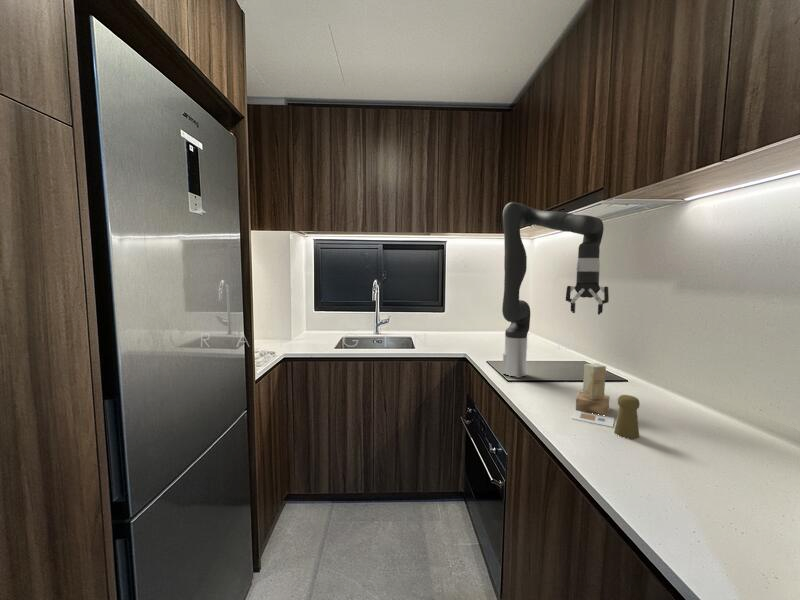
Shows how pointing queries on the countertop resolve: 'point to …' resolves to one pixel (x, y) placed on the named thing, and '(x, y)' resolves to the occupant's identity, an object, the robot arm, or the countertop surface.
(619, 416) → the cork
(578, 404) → the base brick
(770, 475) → the countertop surface
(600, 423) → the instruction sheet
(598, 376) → the box
